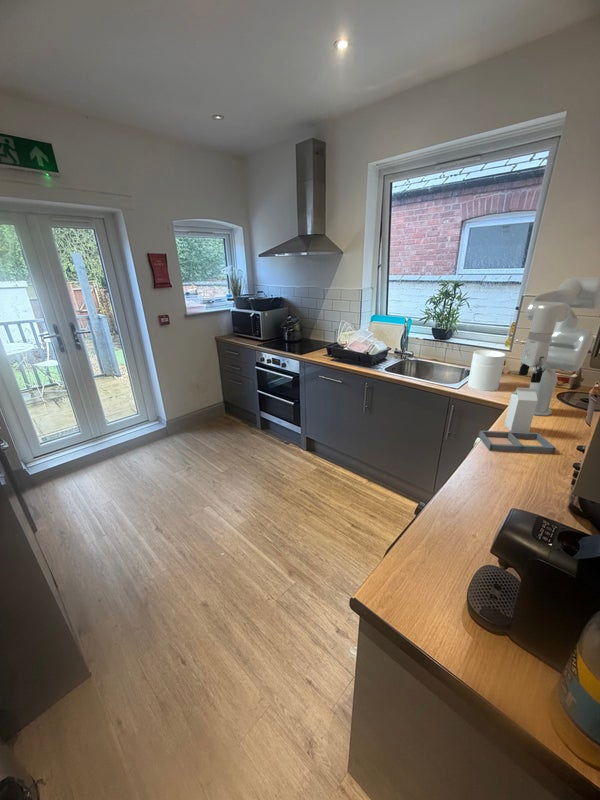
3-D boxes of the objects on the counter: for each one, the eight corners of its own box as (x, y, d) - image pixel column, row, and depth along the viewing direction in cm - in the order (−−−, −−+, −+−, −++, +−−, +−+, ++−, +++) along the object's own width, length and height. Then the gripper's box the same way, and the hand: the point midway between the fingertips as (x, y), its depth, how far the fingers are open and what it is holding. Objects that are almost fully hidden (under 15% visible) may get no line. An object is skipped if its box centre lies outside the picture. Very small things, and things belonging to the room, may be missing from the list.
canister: (499, 384, 194) (506, 351, 186) (497, 393, 181) (505, 358, 174) (469, 380, 202) (475, 348, 194) (465, 388, 189) (472, 354, 182)
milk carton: (528, 433, 138) (540, 391, 131) (510, 432, 139) (520, 390, 132) (521, 425, 145) (532, 385, 137) (504, 424, 146) (513, 384, 139)
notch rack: (477, 435, 137) (478, 430, 136) (537, 438, 134) (538, 432, 133) (489, 450, 126) (490, 444, 125) (554, 453, 123) (555, 447, 122)
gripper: (518, 332, 135) (509, 372, 141) (541, 341, 119) (529, 385, 125) (538, 333, 134) (527, 372, 140) (563, 341, 118) (551, 385, 125)
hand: (528, 378), depth 133 cm, fingers open, 9 cm apart
